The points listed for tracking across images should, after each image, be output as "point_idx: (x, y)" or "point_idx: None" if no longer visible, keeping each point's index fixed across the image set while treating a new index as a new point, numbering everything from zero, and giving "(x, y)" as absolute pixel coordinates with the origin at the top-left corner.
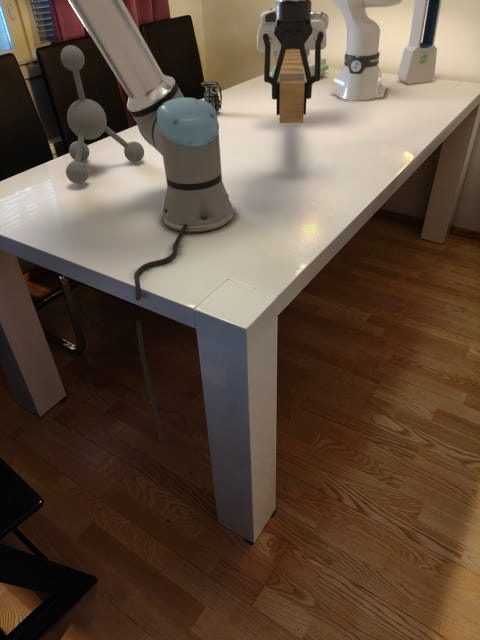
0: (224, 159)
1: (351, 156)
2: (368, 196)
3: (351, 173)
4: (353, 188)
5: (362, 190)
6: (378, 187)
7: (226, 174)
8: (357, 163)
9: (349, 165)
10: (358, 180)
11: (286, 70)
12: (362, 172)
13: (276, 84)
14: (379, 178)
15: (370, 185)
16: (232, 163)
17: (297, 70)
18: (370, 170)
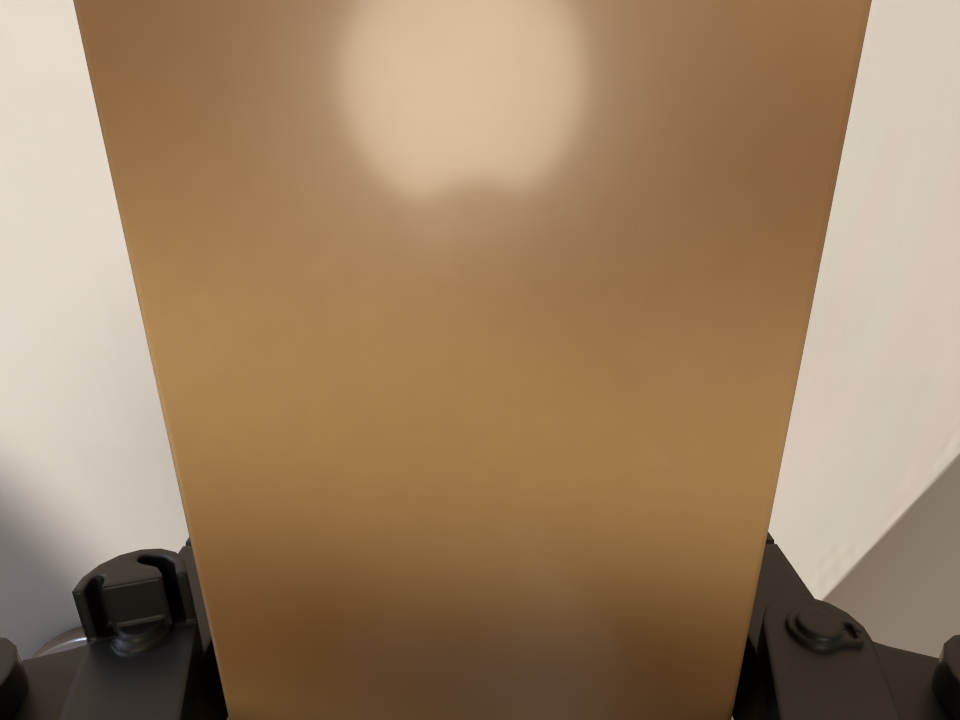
0: (22, 61)
1: (909, 40)
2: (815, 582)
3: (818, 337)
4: (775, 510)
5: (809, 530)
6: (892, 503)
7: (124, 325)
8: (903, 182)
9: (843, 215)
10: (826, 426)
11: (294, 169)
12: (882, 325)
13: (223, 707)
14: (939, 406)
15: (863, 482)
16: (103, 145)
17: (647, 213)
18: (937, 298)
